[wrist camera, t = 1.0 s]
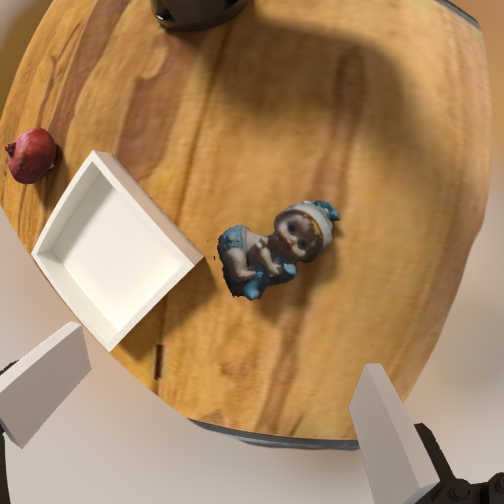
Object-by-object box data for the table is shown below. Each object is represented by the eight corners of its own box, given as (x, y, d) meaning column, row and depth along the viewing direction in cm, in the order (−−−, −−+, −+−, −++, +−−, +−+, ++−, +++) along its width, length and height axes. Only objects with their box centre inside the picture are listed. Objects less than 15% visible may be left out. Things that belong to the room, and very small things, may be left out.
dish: (50, 247, 37) (31, 254, 32) (112, 154, 33) (92, 150, 28) (123, 337, 39) (109, 352, 34) (204, 256, 35) (194, 265, 30)
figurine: (196, 236, 29) (328, 176, 25) (224, 239, 37) (328, 193, 33) (224, 313, 28) (363, 259, 24) (247, 300, 36) (355, 257, 32)
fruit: (62, 182, 35) (18, 182, 25) (29, 184, 35) (-11, 187, 25) (68, 127, 33) (26, 117, 23) (34, 135, 33) (-5, 130, 23)
